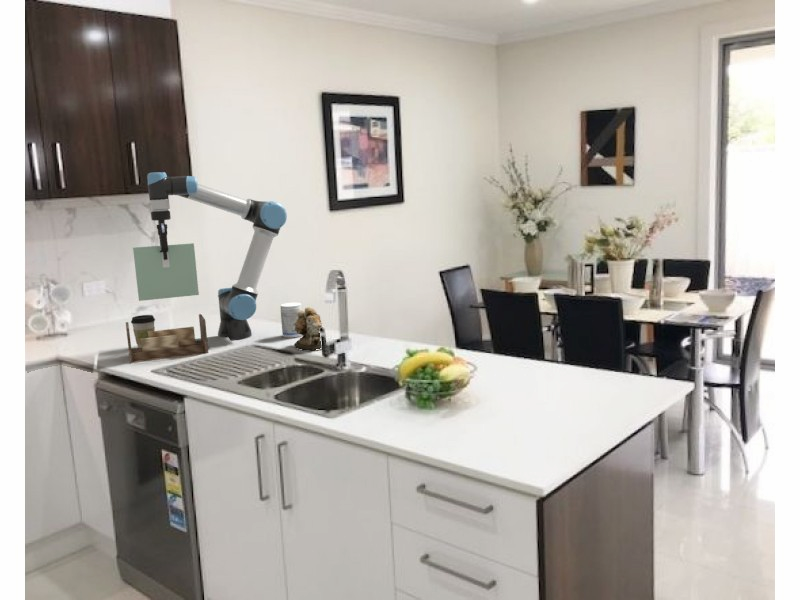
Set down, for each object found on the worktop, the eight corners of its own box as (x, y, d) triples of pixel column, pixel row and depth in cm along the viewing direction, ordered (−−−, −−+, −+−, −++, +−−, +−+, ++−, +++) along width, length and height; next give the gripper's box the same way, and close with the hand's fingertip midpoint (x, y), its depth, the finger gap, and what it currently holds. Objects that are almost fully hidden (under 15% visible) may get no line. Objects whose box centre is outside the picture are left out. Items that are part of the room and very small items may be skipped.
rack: (204, 349, 295) (201, 314, 292) (208, 356, 282) (205, 319, 279) (129, 359, 284) (125, 322, 281) (130, 366, 271) (126, 328, 268)
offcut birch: (179, 353, 283) (177, 334, 282) (179, 354, 282) (177, 335, 281) (143, 358, 278) (140, 338, 277) (143, 358, 277) (141, 339, 275)
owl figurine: (286, 346, 294) (283, 307, 292) (309, 341, 302) (306, 303, 299) (309, 352, 281) (307, 311, 278) (333, 347, 289) (330, 307, 286)
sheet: (198, 294, 294) (193, 243, 290) (198, 294, 293) (193, 243, 289) (138, 300, 285) (133, 247, 281) (138, 300, 284) (133, 247, 280)
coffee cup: (150, 353, 291) (146, 319, 289) (129, 353, 293) (125, 319, 291) (162, 348, 301) (159, 314, 298) (142, 348, 303) (138, 314, 300)
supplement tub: (290, 333, 320) (288, 302, 318) (307, 334, 316) (305, 302, 314) (278, 337, 312) (275, 305, 309) (295, 338, 308) (293, 306, 305)
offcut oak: (195, 349, 288) (193, 326, 287) (196, 350, 287) (193, 327, 286) (150, 355, 282) (147, 331, 280) (150, 356, 281) (148, 332, 279)
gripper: (149, 210, 288) (155, 266, 292) (151, 211, 275) (157, 269, 279) (168, 209, 291) (174, 264, 295) (171, 210, 278) (177, 268, 282)
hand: (166, 267), depth 287 cm, fingers closed on sheet
